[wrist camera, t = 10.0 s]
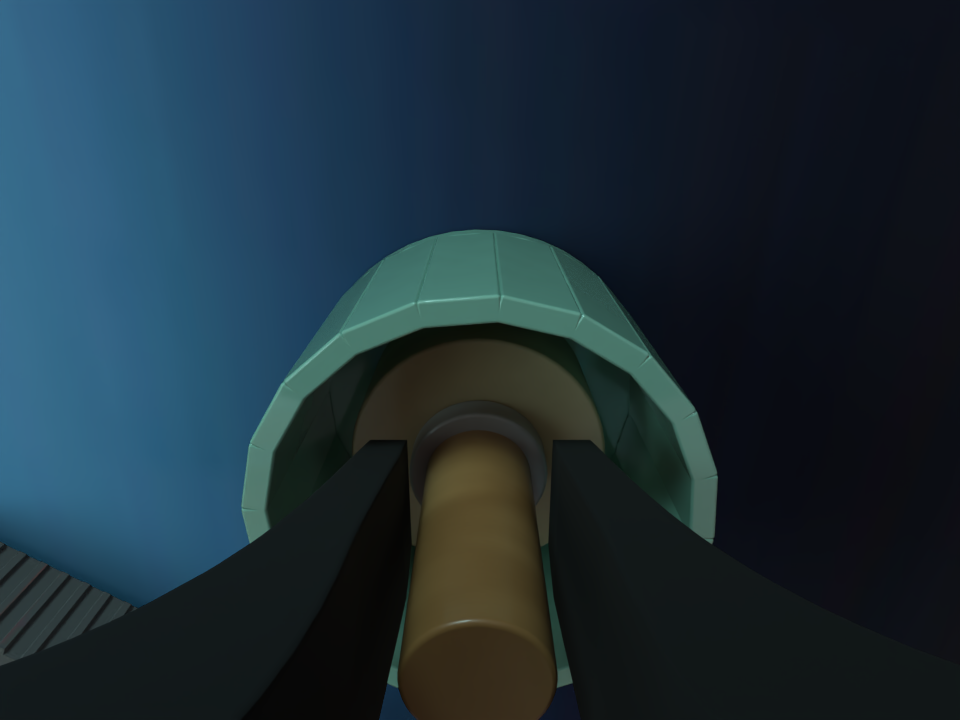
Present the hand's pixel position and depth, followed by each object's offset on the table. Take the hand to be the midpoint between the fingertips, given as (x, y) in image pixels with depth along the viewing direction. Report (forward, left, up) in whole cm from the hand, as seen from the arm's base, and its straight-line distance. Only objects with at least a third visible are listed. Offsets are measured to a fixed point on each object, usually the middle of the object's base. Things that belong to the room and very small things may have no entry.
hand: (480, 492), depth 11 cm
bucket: (0, 0, -4) cm, 4 cm away
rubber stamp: (0, 0, -4) cm, 4 cm away
